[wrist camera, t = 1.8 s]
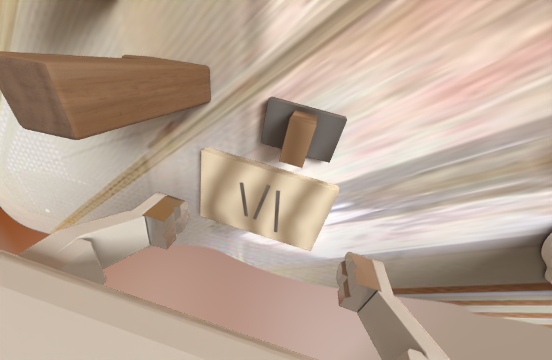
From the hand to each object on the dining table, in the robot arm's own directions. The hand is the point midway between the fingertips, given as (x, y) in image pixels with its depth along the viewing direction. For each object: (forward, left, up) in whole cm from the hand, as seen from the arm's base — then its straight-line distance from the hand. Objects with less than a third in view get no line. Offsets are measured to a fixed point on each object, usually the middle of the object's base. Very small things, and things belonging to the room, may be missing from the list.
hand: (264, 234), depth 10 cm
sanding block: (0, 0, -21) cm, 21 cm away
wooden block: (+18, -2, -21) cm, 27 cm away
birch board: (+3, +14, -20) cm, 25 cm away
